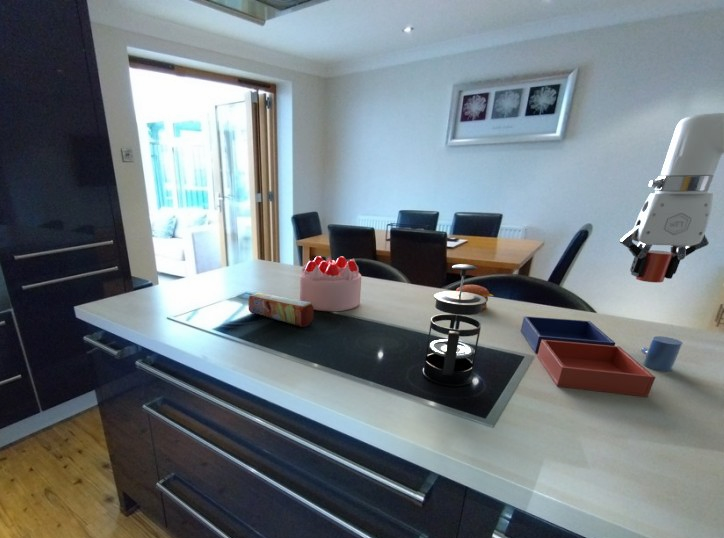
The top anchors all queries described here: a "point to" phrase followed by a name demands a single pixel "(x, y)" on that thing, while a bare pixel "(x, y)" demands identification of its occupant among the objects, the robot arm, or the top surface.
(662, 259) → the red block
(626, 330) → the top surface
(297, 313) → the snack package
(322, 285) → the cake
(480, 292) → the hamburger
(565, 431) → the top surface
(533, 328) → the blue bin
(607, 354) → the red bin
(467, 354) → the french press
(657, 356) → the blue cylinder
